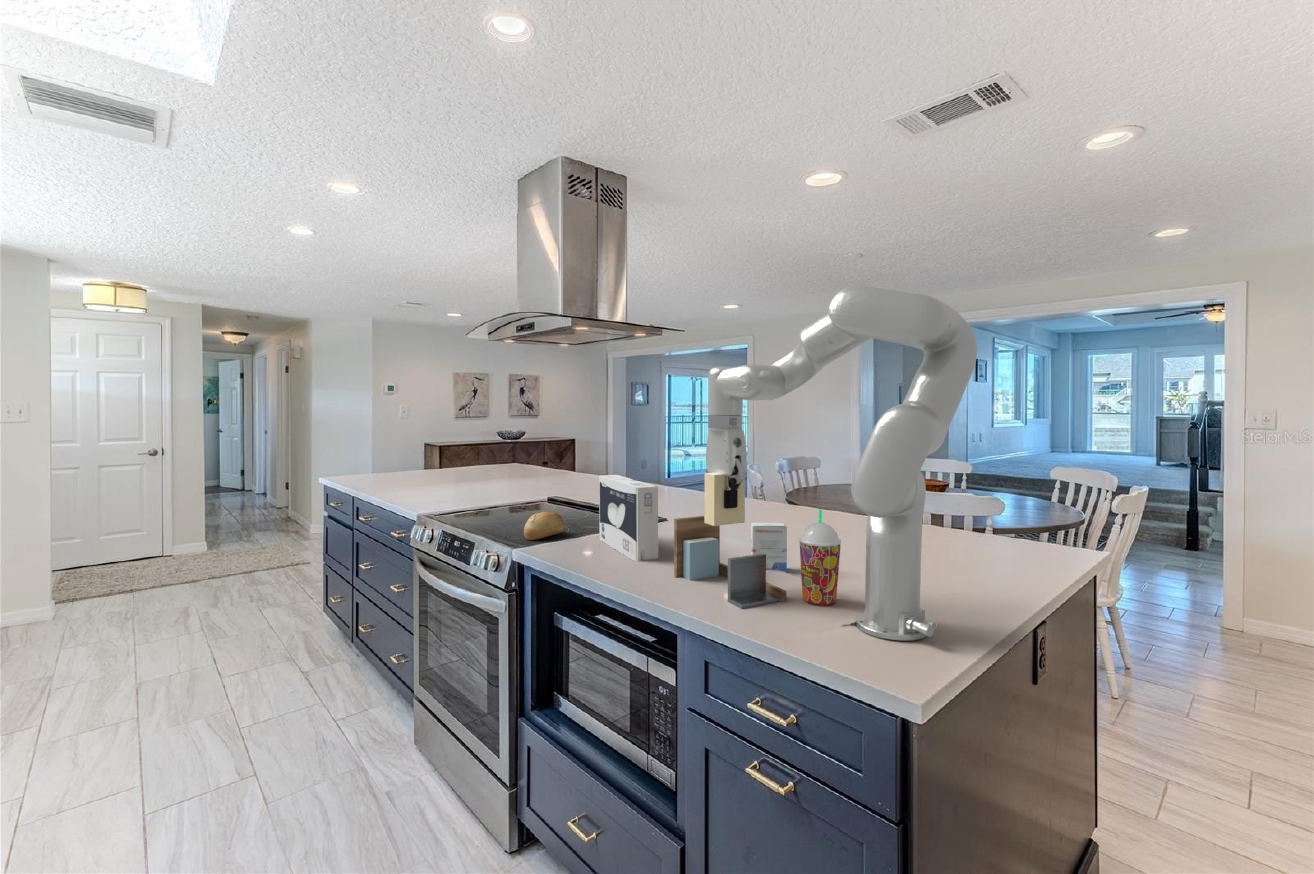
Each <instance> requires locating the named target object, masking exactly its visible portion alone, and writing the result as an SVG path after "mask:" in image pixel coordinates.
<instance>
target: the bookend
mask: <svg viewBox="0 0 1314 874" xmlns="http://www.w3.org/2000/svg"><path fill="white" fill-rule="evenodd" d="M727 566H728V577H727V602H728V603H730V604H732V605H734V606H735V607H737V608H740V609H741V610H742V609H747V608H751V607H752V608H753V607H758V606H763V605H768V604H773V603H777V602H778V601H779V600H778V598H777V597H774V596H772V595H770V594H768V593H766V581H767V569H766V554H756V555H751V554H750V555H743V556H735V557H730V558H727Z"/></svg>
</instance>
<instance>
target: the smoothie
mask: <svg viewBox="0 0 1314 874" xmlns="http://www.w3.org/2000/svg"><path fill="white" fill-rule="evenodd" d="M822 514H823V509H818V522H814V523H812V524H810V525H807V527H806V528H805V529H804V530H803V532H802V534H801V536H800V537H799V538H798V542H799V555H800V579H801V593H802V594H801V597H802V599H803V600H804V601H805V602H804V603H807V604H808V605H812V606H818V607H828V606H829V607H830V606H831V605H832V606H833V605H834V603H836V601H837V596H838V595H837V594H838V581H839V569H840V560H841V559H840V556H841V544H842V540H841V539H840V538H839V535H838V533H837V532H836V531H837V530H835V528H834V527H832V526H831V525H829V524H828V523H825V522H823V515H822Z"/></svg>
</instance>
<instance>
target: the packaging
mask: <svg viewBox="0 0 1314 874" xmlns="http://www.w3.org/2000/svg"><path fill="white" fill-rule="evenodd" d="M598 488H599V489H598V497H599V499H598V507H599V510H598V513H599V515H598V517H599V518H598V520H599V529H598V531H599V540H600V542H602V541H603V544H606V545H607V546H609V547H610V548H612V549H614V550H615V549H616V551H617V552H619V553H621V554H622V555H623V554H624V555H623V556H625V557H627V558H628V559H630V560H632V561H633V562H635V563H637V562H645V561H651V560H652V561H653V560H658V559H659V487H658V486H656V485H652V484H650V483H647V482H643V481H641V480H640V481H639V480H634V479H633V478H629V477H626V476H623V475H619V474H605V475H604V474H603V475H599V476H598Z"/></svg>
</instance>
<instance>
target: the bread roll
mask: <svg viewBox="0 0 1314 874" xmlns="http://www.w3.org/2000/svg"><path fill="white" fill-rule="evenodd" d="M564 529H565V523H564V520H563V517H562V516H561V515H560V513H557V512H552V511H541V512H537V513H535V514H532V515H530V517H529V518H528V520H527V521H526V522H525V524H524V528H523V536H524V538H525V539H526V540H528V541H535V540H536V541H537V540H540V539H544V538H548V537H550V536H553V535H558V534H562V532H563V531H564Z"/></svg>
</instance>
